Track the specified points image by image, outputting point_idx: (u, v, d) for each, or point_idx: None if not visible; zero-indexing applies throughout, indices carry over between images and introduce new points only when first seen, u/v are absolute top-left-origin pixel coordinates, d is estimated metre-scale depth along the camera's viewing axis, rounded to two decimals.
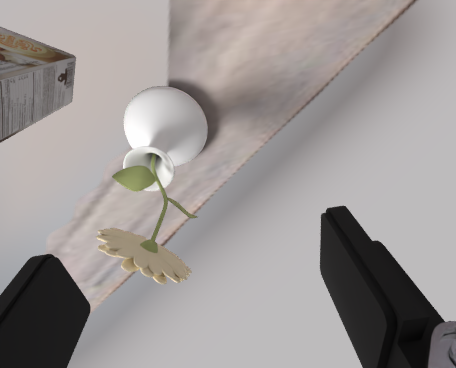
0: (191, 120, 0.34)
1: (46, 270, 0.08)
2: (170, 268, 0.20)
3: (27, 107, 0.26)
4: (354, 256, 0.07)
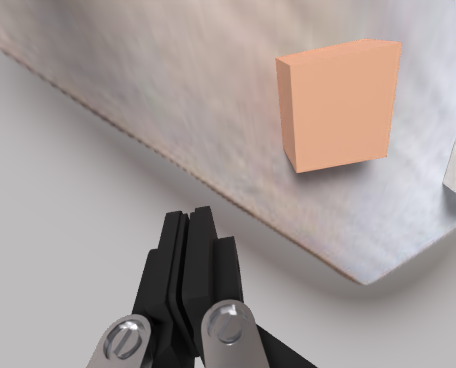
0: None
1: (185, 223, 0.09)
2: None
3: None
4: (190, 248, 0.08)
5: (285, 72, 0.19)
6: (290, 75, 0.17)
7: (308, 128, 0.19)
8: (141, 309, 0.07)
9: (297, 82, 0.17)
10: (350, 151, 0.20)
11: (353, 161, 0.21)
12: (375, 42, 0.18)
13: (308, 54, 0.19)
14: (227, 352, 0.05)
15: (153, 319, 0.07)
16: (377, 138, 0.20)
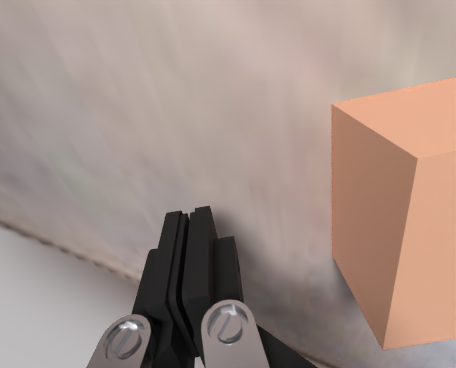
0: None
1: (185, 223, 0.09)
2: None
3: None
4: (190, 249, 0.08)
5: (377, 155, 0.07)
6: (410, 179, 0.06)
7: (429, 282, 0.08)
8: (141, 309, 0.07)
9: (428, 197, 0.06)
10: None
11: None
12: None
13: (422, 104, 0.08)
14: (227, 352, 0.05)
15: (153, 319, 0.07)
16: None
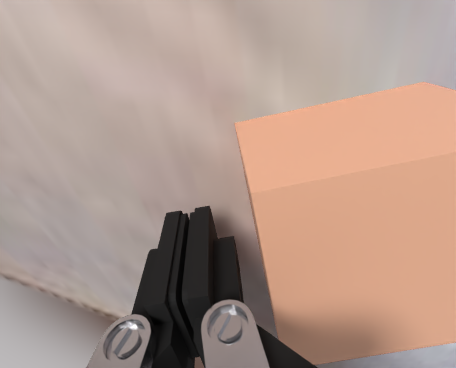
0: None
1: (185, 223, 0.09)
2: None
3: None
4: (190, 249, 0.08)
5: (247, 182, 0.07)
6: (255, 211, 0.06)
7: (308, 307, 0.08)
8: (141, 309, 0.07)
9: (276, 229, 0.06)
10: (402, 336, 0.09)
11: (407, 348, 0.10)
12: None
13: (304, 129, 0.08)
14: (227, 352, 0.05)
15: (153, 319, 0.07)
16: None
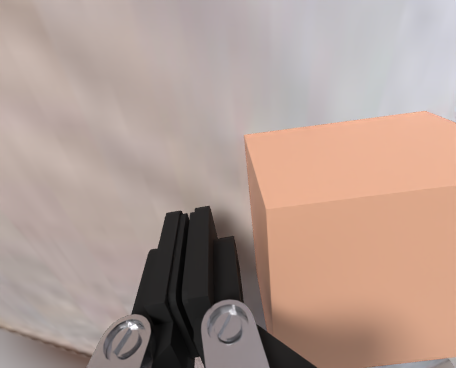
0: None
1: (185, 223, 0.09)
2: None
3: None
4: (190, 249, 0.08)
5: (258, 195, 0.08)
6: (267, 226, 0.06)
7: (306, 319, 0.08)
8: (141, 309, 0.07)
9: (284, 244, 0.07)
10: (390, 351, 0.10)
11: (392, 363, 0.10)
12: None
13: (313, 147, 0.09)
14: (227, 352, 0.05)
15: (153, 319, 0.07)
16: (451, 333, 0.09)
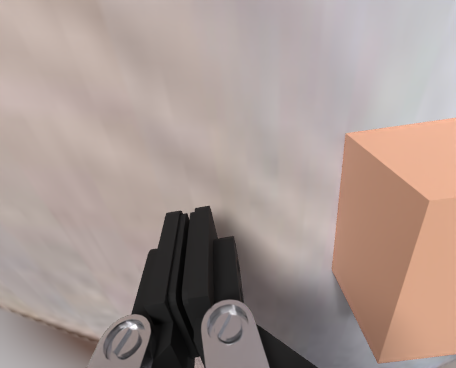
0: None
1: (185, 223, 0.09)
2: None
3: None
4: (190, 249, 0.08)
5: (389, 189, 0.08)
6: (420, 217, 0.07)
7: (426, 306, 0.09)
8: (141, 309, 0.07)
9: (434, 233, 0.07)
10: None
11: None
12: None
13: (430, 144, 0.09)
14: (227, 352, 0.05)
15: (153, 319, 0.07)
16: None
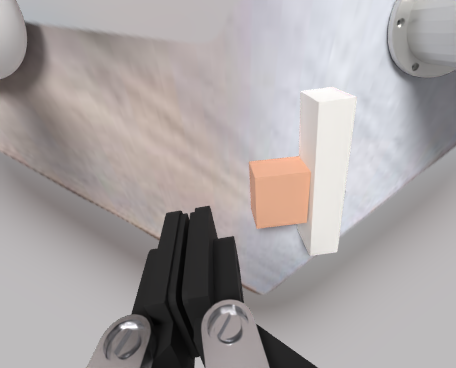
0: None
1: (185, 223, 0.09)
2: None
3: None
4: (190, 248, 0.08)
5: (253, 176, 0.34)
6: (255, 181, 0.33)
7: (264, 206, 0.35)
8: (141, 309, 0.07)
9: (258, 185, 0.33)
10: (286, 219, 0.36)
11: (288, 224, 0.37)
12: (300, 165, 0.35)
13: (266, 165, 0.35)
14: (227, 352, 0.05)
15: (153, 319, 0.07)
16: (301, 213, 0.36)
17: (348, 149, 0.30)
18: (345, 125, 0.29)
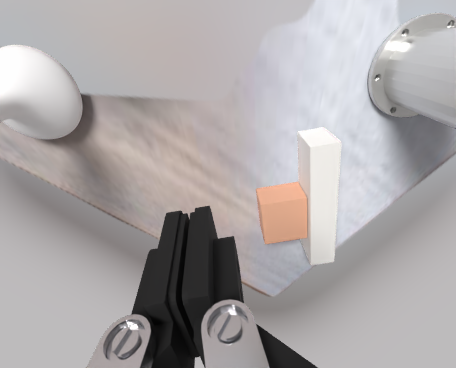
0: (51, 129, 0.33)
1: (185, 223, 0.09)
2: None
3: None
4: (190, 248, 0.08)
5: (259, 202, 0.41)
6: (260, 207, 0.40)
7: (269, 226, 0.42)
8: (141, 309, 0.07)
9: (264, 210, 0.40)
10: (289, 235, 0.43)
11: (291, 239, 0.44)
12: (299, 191, 0.41)
13: (270, 192, 0.42)
14: (227, 352, 0.05)
15: (153, 319, 0.07)
16: (301, 230, 0.43)
17: (337, 181, 0.37)
18: (333, 163, 0.35)
